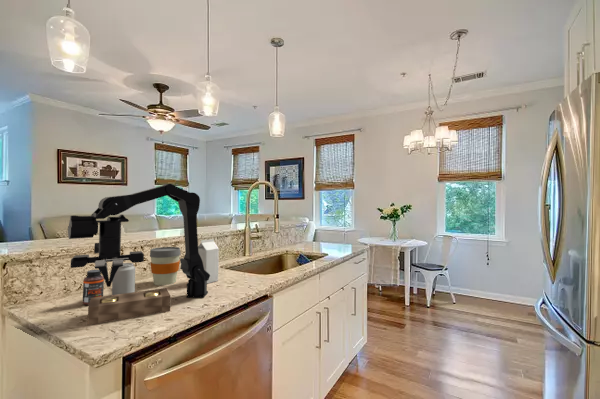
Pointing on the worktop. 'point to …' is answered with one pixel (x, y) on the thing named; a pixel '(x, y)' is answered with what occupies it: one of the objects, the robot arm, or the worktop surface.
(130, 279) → the can
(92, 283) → the supplement bottle
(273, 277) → the worktop surface
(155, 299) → the walnut block
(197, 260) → the robot arm
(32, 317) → the worktop surface
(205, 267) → the milk carton
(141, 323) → the worktop surface
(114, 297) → the peg
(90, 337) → the worktop surface
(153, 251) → the reusable coffee cup
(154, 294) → the peg
